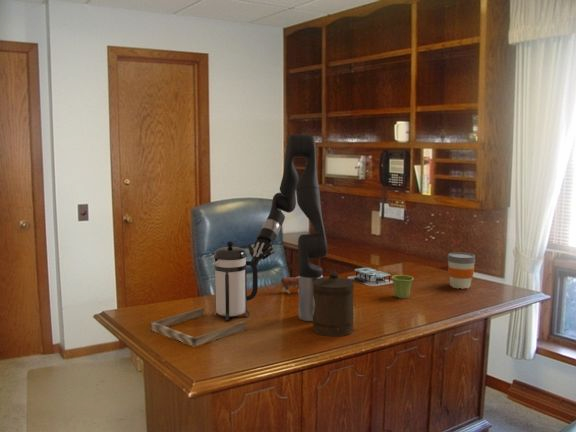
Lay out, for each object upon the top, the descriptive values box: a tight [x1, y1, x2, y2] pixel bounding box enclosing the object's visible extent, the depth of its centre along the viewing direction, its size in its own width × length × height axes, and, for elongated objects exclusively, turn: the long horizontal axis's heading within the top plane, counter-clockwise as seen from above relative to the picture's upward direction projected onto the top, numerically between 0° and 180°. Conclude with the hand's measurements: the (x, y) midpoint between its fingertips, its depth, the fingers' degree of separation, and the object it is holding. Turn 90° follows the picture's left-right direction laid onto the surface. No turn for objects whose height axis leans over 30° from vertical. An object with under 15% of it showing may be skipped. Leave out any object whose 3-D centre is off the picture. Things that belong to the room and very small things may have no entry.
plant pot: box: [391, 274, 414, 299], centre depth 255 cm, size 9×9×9 cm
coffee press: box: [211, 241, 259, 322], centre depth 228 cm, size 17×16×30 cm
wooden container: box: [312, 270, 355, 337], centre depth 211 cm, size 15×15×22 cm
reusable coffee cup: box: [447, 252, 476, 290], centre depth 272 cm, size 13×13×15 cm
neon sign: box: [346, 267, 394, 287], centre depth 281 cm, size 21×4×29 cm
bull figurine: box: [280, 276, 299, 295], centre depth 261 cm, size 4×13×8 cm, turn 89°
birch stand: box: [149, 307, 247, 346], centre depth 212 cm, size 25×24×3 cm
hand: (252, 265), depth 239 cm, fingers closed
